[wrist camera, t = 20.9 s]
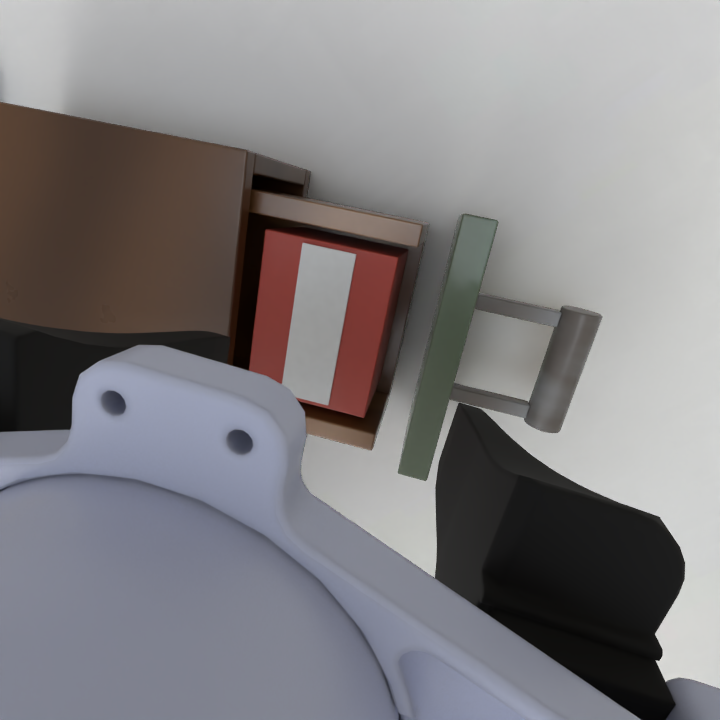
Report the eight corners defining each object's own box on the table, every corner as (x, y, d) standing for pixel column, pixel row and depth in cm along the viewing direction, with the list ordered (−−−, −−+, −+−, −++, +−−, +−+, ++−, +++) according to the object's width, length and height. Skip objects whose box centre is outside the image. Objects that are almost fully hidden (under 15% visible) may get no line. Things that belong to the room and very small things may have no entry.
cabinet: (311, 171, 22) (247, 149, 15) (279, 387, 26) (217, 450, 19) (61, 122, 24) (-101, 81, 17) (65, 332, 27) (-66, 372, 20)
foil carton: (301, 226, 21) (263, 228, 17) (409, 249, 20) (398, 257, 16) (282, 357, 23) (244, 389, 19) (380, 380, 23) (363, 419, 18)
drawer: (599, 242, 20) (655, 251, 15) (528, 446, 23) (552, 515, 18) (226, 167, 22) (153, 151, 17) (208, 365, 25) (143, 405, 20)
